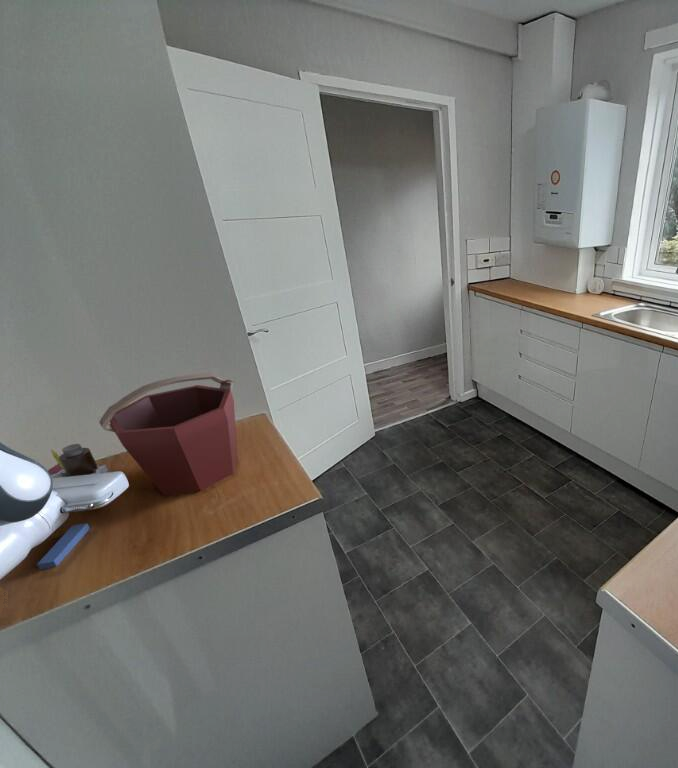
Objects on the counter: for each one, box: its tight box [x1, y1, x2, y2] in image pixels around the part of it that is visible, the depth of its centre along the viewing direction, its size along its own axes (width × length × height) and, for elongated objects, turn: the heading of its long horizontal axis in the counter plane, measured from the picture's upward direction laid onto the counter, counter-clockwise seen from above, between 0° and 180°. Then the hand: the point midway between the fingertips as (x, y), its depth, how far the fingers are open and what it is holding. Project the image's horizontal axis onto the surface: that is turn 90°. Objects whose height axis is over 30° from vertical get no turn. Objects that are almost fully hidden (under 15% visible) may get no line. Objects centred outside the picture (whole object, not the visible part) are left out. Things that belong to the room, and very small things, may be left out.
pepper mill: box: [58, 443, 110, 511], centre depth 84 cm, size 4×4×14 cm
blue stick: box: [36, 522, 91, 571], centre depth 77 cm, size 10×2×2 cm, turn 18°
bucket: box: [98, 372, 238, 496], centre depth 95 cm, size 24×22×25 cm
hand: (86, 469), depth 84 cm, fingers closed on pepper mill, 4 cm apart
